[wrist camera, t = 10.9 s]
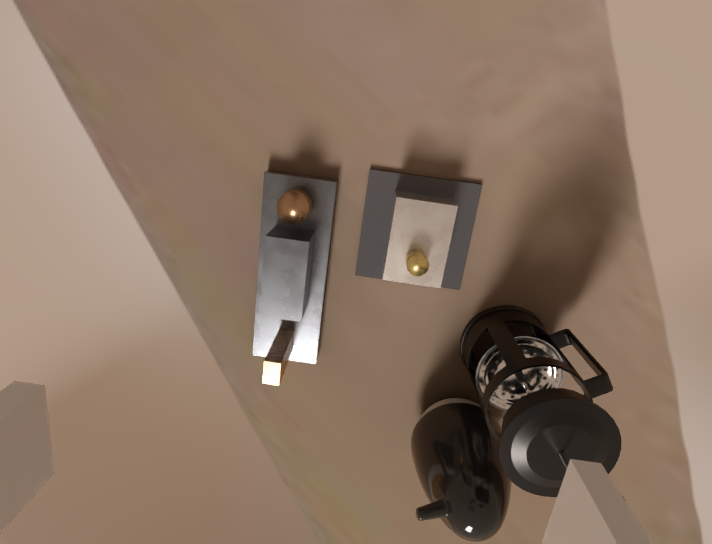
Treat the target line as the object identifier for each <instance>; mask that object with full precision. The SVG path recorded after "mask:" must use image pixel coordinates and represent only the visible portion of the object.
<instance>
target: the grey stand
mask: <svg viewBox="0 0 712 544" xmlns="http://www.w3.org/2000/svg"><path fill="white" fill-rule="evenodd" d="M337 183H338V180H334V179H326V178H319V177H312V176H305V175H297V174H290V173H283V172H276V171H266V172H264V186H263V201H262V217H261V233H260V248H259V264H258V280H257V296H256V311H255V327H254V343H253V355H255V356H263V357H266V358H265V360H264V368H263V382H262V383H264V384H271V385H278V386H279V384H280V382H281V379H282V376H283V374H284V371H285V368H286V366H287V363H288V360H291V361H298V362H305V363H313V364H316V361H317V356H318V348H319V339H320V330H321V322H322V313H323V304H324V296H325V287H326V278H327V270H328V261H329V252H330V244H331V235H332V226H333V218H334V209H335V200H336V192H337Z"/></svg>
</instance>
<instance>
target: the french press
mask: <svg viewBox="0 0 712 544" xmlns="http://www.w3.org/2000/svg"><path fill="white" fill-rule="evenodd" d="M508 322H523V323H525V324H526V325H528V326H529V327H530V328H531V329H532V331H533V333H534V335H535V338H534V337H530V336H513V335H512V334H511V332H510V330H509V329H508V327H507V325H506V324H505V323H508ZM487 330H489V332H490V334H491V336H492V338H493V340H494V342H495V343H494V344H493V345H492V346H491V347H490V348H488V350H487V351H486V352H485V353H484V354H483V356H482V358H481V359H480V361H479V364H478V363H477V362H476V360H475V358H474V356H473V345H474V343H475V342H476V340H477V339H478V338H479V337H480V336H481V335H482V334H483V333H484V332H486V331H487ZM568 345H573V346H574V348H575V349H576V350H577V351H578V352H579V354H580V355H581V356H582V357H583V358H584V360H585V361H586V362H587V363H588V364H589V366H590V367H591V368H592V369H593V370H594V372H595V373H596V374H597V375H598V376H595V377H593V378H590V379H587V380H585V381H583V379H582V378H581V377H580V375H579V374H578V373H577V371H576V370H575V369H574V367H573V366H572V365H571V364H570V362H569V361H568V360H567V358H566V357H565V356H564V354H563V353H562V352H561V351H560V348H562V347H565V346H568ZM460 353H461V357H462V360H463V362H464V364H465V366H466V367H467V369H468V371H469V374H470V376H471V379H472V382H473V385H474V388H475V391H476V394H477V397H478V400H479V402H480V405H481V408H482V411H483V414H484V417H485V420H486V423H487V426H488V428H489V430H490V432H491V433H492V435H493V436H494V437H495V438H496V439H497V440H498V441H499V446H498V455H499V460H500V463H501V466H502V469H503V471H504V472H505V474H506V475H507V477H508V478H509V479H510V480H511V481H512V482H513V483H514V484H515V485H517V486H518V487H520V488H521V489H523V490H525V491H527V492H530V493H532V494H536V495H540V496H547V497H557V496H558V493H559V490H560V488H561V485H562V482H563V479H564V476H565V473H566V470H567V467H568V464H569V461H570V459H575V460H582V461H589V462H596V463H601V464H602V465H603V467H604V468H605V470H606V472H607V473H608V474H609V473H610V471H611V470H612V469H613V468H614V466H615V464H616V462H617V460H618V458H619V455H620V451H621V436H620V432H619V429H618V427H617V425H616V423H615V421H614V420H613V418H612V417H611V416H610V415H609V414H608V413H607V412H606V411H605V410H604V409H602V408H601V407H600V406H598V405H597V404H595V403H593V400H592V398H595V397H597V396H600V395H603V394H606V393H608V392H611V391H612V390H613V387H612V384H611V381H610V379H609V376H608V374H607V372H606V371H605V370H604V369H603V367H602V366H601V365H600V364H599V363H598V362H597V361H596V359H595V358H594V357H593V356H592V355H591V354H590V353H589V352H588V350H587V349H586V348H585V347H584V346H583V345H582V344H581V342H580V341H579V340H578V339H577V338H576V337H575V336H574V335H573V333H572V332H571V331H570V330H569V329H564V330H561V331H558V332H556V333H553V334H551V335H548V334H547V332H546V329H545V327H544V325H543V324H542V322H541V321H540V320H539V319H538V318H537V317H536V316H535V315H534V314H532V313H531V312H530V311H527V310H525V309H523V308H520V307H516V306H497V307H493V308H490V309H487V310H485V311H483V312H481V313H480V314H478V315H477V316H476V317H474V318H473V319H472V320H471V321H470V323H469V324H468V325H467V326H466V328H465V330H464V332H463V334H462V337H461V342H460ZM564 370H565V371H567V372H569V373H570V374H571V375H572V377H573V378H574V379H575V381H576V382H577V383H578V385H579V386H580V387H581V389H582V390H583V392H584V395H582V394H580V393H578V392H575V391H572V390H568V389H564V388H561V385H562V383H563V379H564V375H565V373H564ZM481 396H482V397H481ZM482 398H483V399H482ZM488 404H490V405H491V406H493V407H494V408H497V409H499V410H501V411H506V414H505V416H504V418H503V424H502V434H500V433H499V432H497V431H496V430H495V429H494V428H493V427H492V425H491V422H490V420H489V417H488V414H487V411H488ZM622 497H623V496H622ZM623 498H624V497H623ZM624 500H625V499H624Z"/></svg>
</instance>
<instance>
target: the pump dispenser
mask: <svg viewBox="0 0 712 544" xmlns="http://www.w3.org/2000/svg"><path fill="white" fill-rule="evenodd" d="M487 414H488V417H489V420H490V422H491V425H492V427H493V428H494V429H495V430H496V431H497V432H499V433H500V434H502V426H501V424H500V423H499V421H498V420H497V419H496V418H495V416H494V415H492V414H491V413H490V412H489V411H487ZM498 446H499V441H498V440H497V439H496V438H495V437H494V436H493V435H492V433H491V432H490V430H489V428H488V426H487V423H486V420H485V417H484V414H483V411H482V408H481V406H480V405H479V404H477V403H475V402H473V401H470V400H467V399H462V398H449V399H444V400H441V401H439V402H436V403H435V404H433V405H431V406H430V407H429V408H428V409H427V410H426V411H425V412H424V413H423V414H422V416H421V417H420V419H419V421H418V423H417V424H416V426H415V428H414V430H413V433H412V437H411V450H412V457H413V461H414V465H415V468H416V471H417V475H418V477H419V480H420V483H421V485H422V487H423V490H424V492H425V494H426V496H427V498H428V499H429V501H430V504H427V505H424V506H421V507H418V508H417V509H416V517H417V519H418V520H420V521H423V520H429V519H436V518H441V520H442V521H443V522H444V523H445V525H446V526H447V527H448V528H449V529H450V530H451V531H453V532H454V533H455V534H456V535H458V536H459V537H461V538H463V539H465V540H468V541H474V542H479V541H484V540H487V539H489V538H491V537H493V536H494V535H495V534H496V533H497V532H498V531H499V529H500V528H501V526H502V524H503V522H504V520H505V517H506V514H507V510H508V506H509V500H510V493H511V480H510V479H509V478H508V477H507V475H506V474H505V472H504V471H503V469H502V466H501V463H500V460H499V455H498Z"/></svg>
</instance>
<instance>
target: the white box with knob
mask: <svg viewBox="0 0 712 544" xmlns="http://www.w3.org/2000/svg"><path fill="white" fill-rule="evenodd" d="M457 209H458V206H457V204H456V203H455V202H454V201H453V200H452V199H451V198H444V197H437V196H431V195H424V194H417V193H410V192H404V191H397V190H395V194H394V200H393V206H392V212H391V218H390V224H389V230H388V236H387V242H386V248H385V254H384V260H383V266H382V272H383V280H388V281H395V282H402V283H408V284H415V285H422V286H429V287H435V288H441V284H442V279H443V274H444V270H445V265H446V260H447V256H448V251H449V246H450V242H451V237H452V232H453V228H454V223H455V218H456V214H457Z"/></svg>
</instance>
